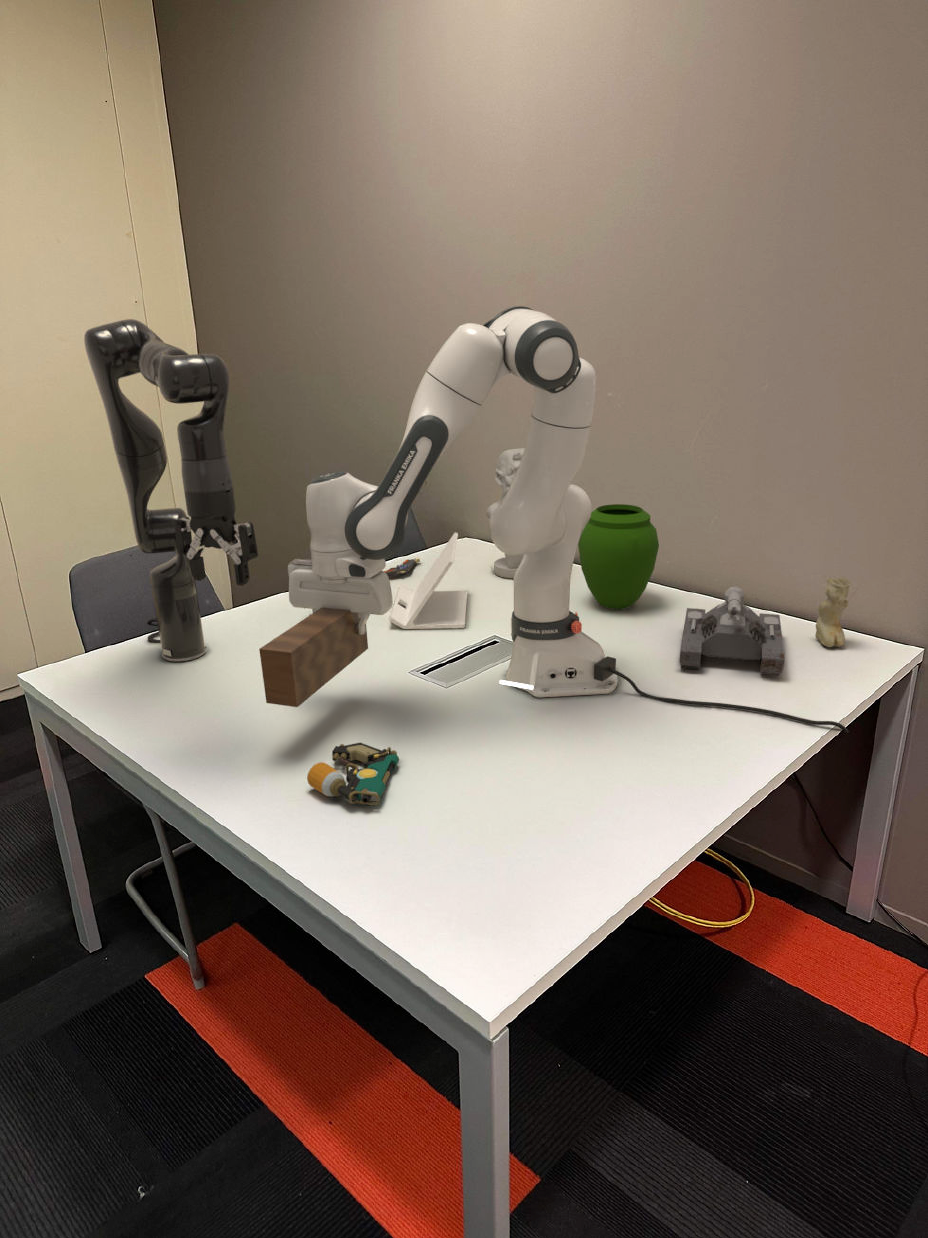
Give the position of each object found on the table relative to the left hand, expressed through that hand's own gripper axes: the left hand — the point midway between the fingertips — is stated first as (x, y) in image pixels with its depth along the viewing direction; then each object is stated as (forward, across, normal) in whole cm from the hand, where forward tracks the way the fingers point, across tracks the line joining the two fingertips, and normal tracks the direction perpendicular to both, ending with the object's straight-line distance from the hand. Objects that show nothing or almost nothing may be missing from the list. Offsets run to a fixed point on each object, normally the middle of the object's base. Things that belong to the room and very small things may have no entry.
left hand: (221, 581), depth 142 cm
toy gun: (+30, -19, +100) cm, 106 cm away
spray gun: (+30, +26, -4) cm, 40 cm away
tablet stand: (+30, +4, +73) cm, 79 cm away
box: (+20, +10, +11) cm, 25 cm away
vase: (+30, +47, +91) cm, 107 cm away
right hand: (+15, +10, +20) cm, 27 cm away
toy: (+30, +77, +68) cm, 107 cm away
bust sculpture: (+30, +18, +108) cm, 113 cm away
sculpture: (+30, +96, +80) cm, 129 cm away
